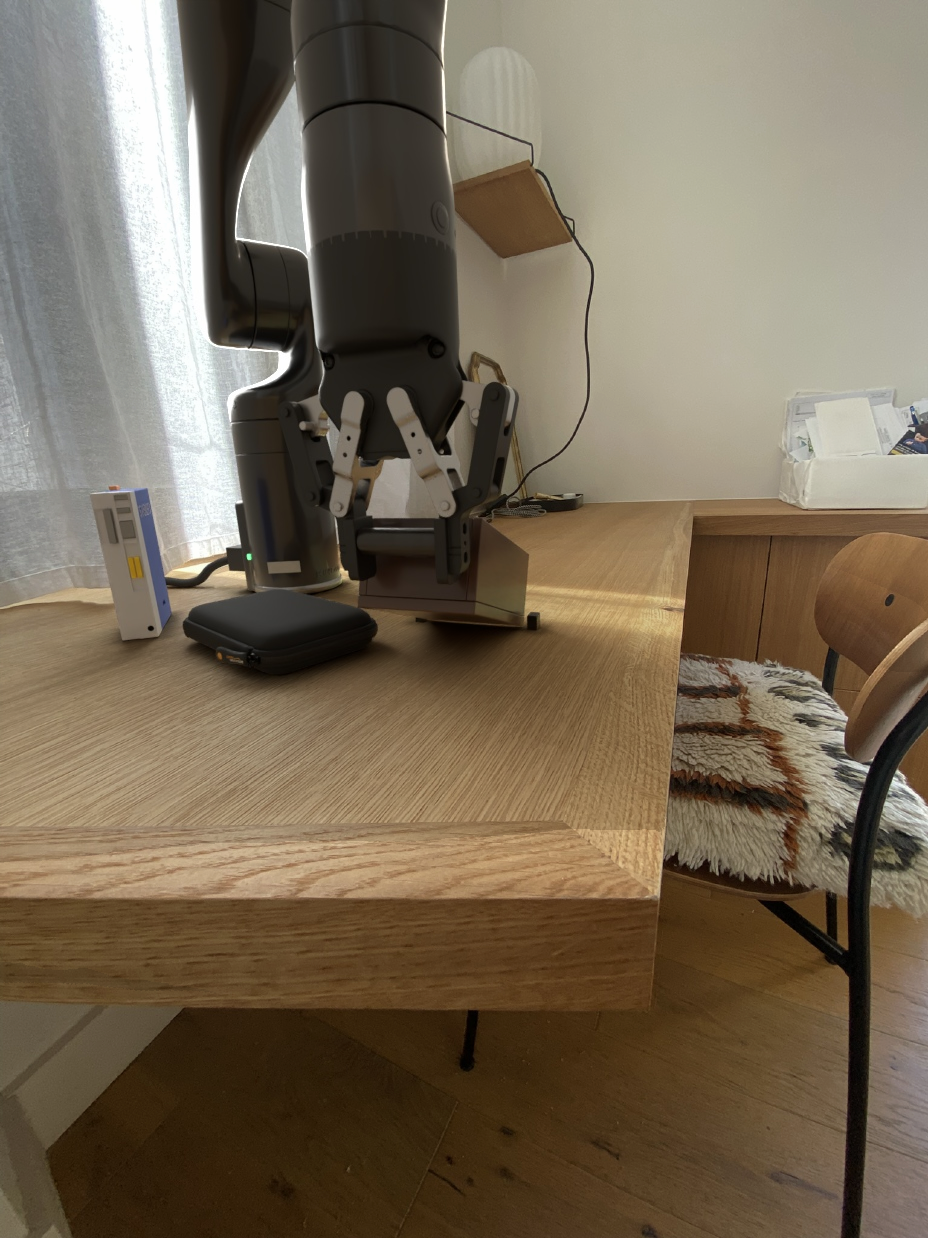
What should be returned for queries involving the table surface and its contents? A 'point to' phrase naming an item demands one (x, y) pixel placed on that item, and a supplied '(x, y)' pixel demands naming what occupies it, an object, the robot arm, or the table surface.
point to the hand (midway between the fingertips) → (404, 578)
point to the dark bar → (532, 620)
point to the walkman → (132, 560)
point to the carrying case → (279, 630)
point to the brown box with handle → (411, 574)
